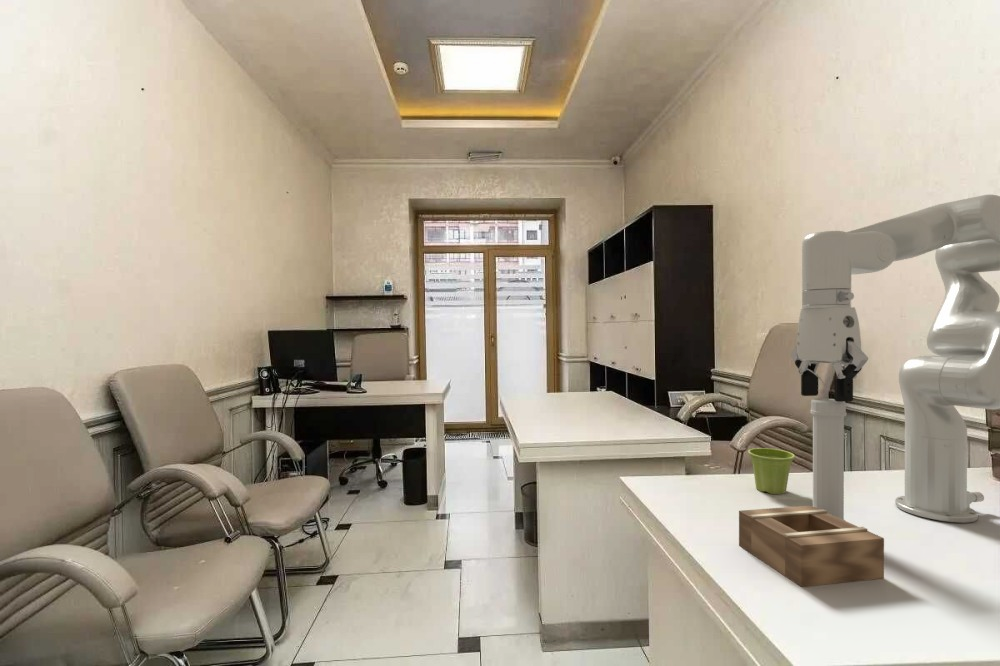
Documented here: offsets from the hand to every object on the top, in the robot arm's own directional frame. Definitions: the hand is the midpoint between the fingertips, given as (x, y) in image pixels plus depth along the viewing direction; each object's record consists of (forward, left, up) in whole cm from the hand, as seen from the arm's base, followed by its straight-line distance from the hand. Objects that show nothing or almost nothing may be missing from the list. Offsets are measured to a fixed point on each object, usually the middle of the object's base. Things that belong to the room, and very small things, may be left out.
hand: (826, 397), depth 91 cm
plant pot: (-7, -23, -25) cm, 35 cm away
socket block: (+12, +9, -25) cm, 29 cm away
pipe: (0, 0, -25) cm, 25 cm away
